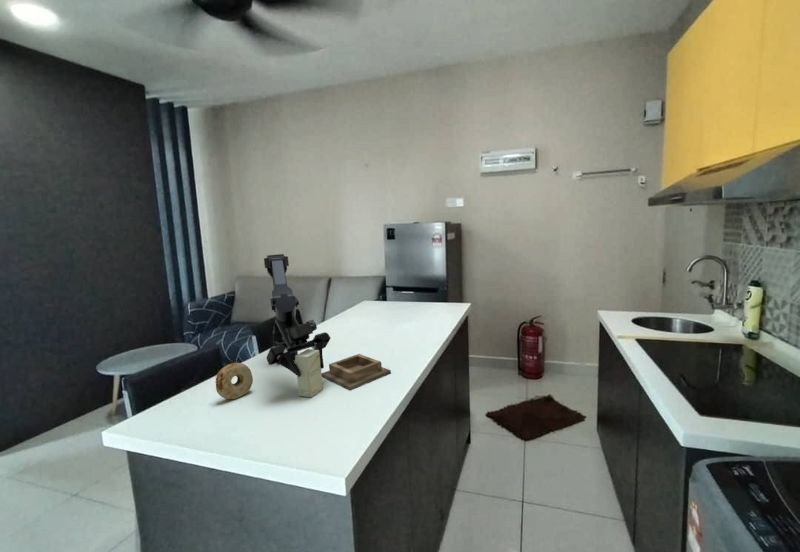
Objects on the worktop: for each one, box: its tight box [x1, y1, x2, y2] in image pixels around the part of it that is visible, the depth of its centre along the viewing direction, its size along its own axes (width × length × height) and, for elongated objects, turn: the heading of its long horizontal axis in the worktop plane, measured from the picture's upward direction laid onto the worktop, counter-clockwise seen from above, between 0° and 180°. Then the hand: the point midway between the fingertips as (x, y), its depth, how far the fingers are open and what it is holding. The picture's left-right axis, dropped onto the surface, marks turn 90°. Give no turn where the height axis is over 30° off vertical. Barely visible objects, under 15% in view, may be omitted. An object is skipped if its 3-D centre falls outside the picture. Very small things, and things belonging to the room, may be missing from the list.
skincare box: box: [294, 348, 324, 398], centre depth 111 cm, size 6×4×12 cm
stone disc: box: [214, 362, 254, 400], centre depth 112 cm, size 10×4×10 cm, turn 139°
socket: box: [321, 353, 392, 391], centre depth 123 cm, size 16×16×4 cm
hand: (311, 372), depth 110 cm, fingers closed on skincare box, 7 cm apart
